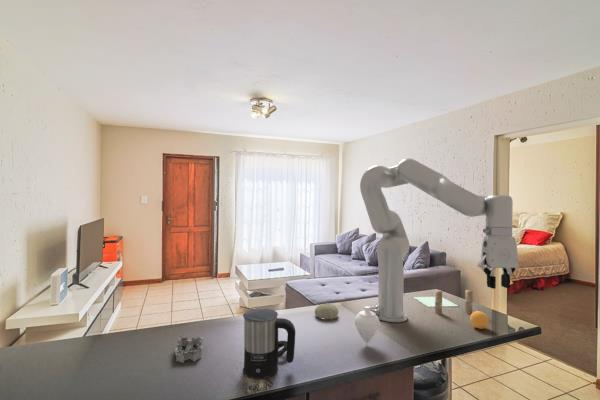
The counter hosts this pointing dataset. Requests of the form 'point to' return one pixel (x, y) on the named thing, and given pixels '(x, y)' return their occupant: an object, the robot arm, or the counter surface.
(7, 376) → the counter surface
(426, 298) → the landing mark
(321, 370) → the counter surface
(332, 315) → the sea urchin shell
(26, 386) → the counter surface
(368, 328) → the spinning top
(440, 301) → the left post
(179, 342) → the egg carton
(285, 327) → the milk frother
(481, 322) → the ball
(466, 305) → the right post
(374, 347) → the counter surface
